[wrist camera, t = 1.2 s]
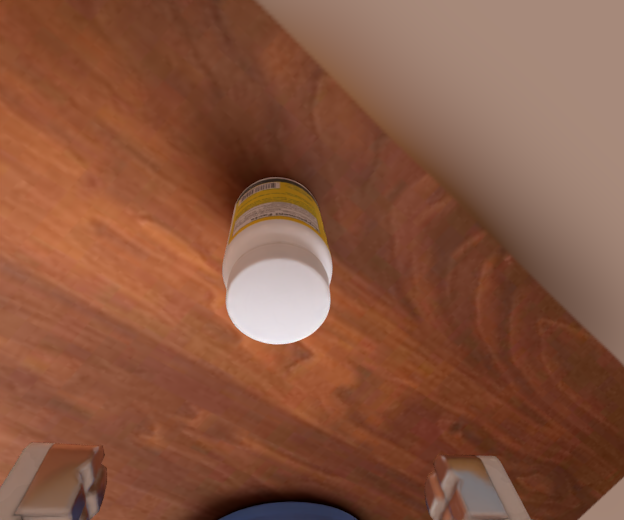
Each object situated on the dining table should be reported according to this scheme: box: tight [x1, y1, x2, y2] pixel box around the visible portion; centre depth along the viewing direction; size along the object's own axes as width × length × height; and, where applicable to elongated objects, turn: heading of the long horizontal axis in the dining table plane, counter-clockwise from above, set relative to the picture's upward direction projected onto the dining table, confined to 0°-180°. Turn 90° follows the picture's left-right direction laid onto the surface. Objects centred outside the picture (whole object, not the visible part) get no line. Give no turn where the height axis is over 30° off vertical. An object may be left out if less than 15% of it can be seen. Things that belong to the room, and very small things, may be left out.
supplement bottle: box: [222, 177, 332, 344], centre depth 20 cm, size 5×5×8 cm
